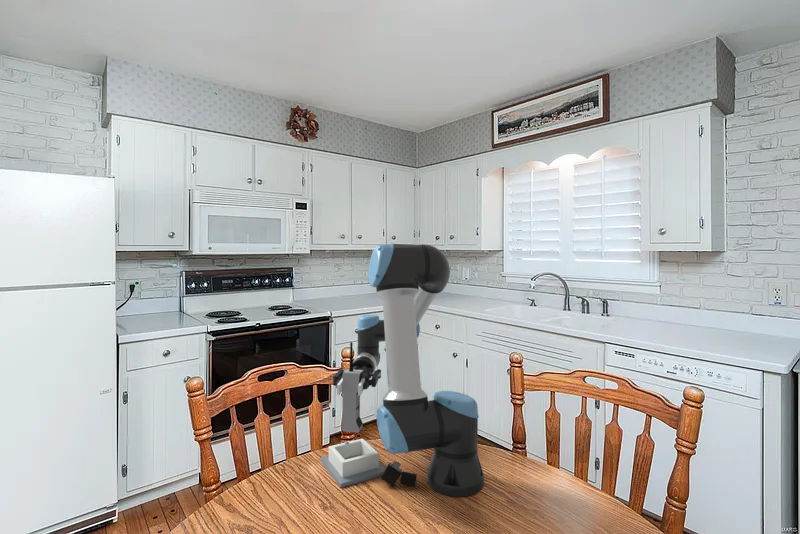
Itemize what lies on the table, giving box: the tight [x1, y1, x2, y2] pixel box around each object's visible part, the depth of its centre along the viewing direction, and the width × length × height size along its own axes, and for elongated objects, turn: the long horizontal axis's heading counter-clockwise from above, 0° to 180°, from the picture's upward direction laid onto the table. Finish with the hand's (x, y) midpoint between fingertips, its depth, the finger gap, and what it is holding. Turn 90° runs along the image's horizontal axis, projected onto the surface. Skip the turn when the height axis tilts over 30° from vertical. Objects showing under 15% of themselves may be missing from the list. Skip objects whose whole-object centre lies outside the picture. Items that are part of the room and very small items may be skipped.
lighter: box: [379, 461, 418, 488], centre depth 108 cm, size 9×2×6 cm
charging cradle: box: [319, 438, 386, 488], centre depth 116 cm, size 16×14×5 cm
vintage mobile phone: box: [341, 341, 364, 434], centre depth 116 cm, size 4×5×25 cm
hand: (348, 390), depth 110 cm, fingers closed on vintage mobile phone, 5 cm apart
